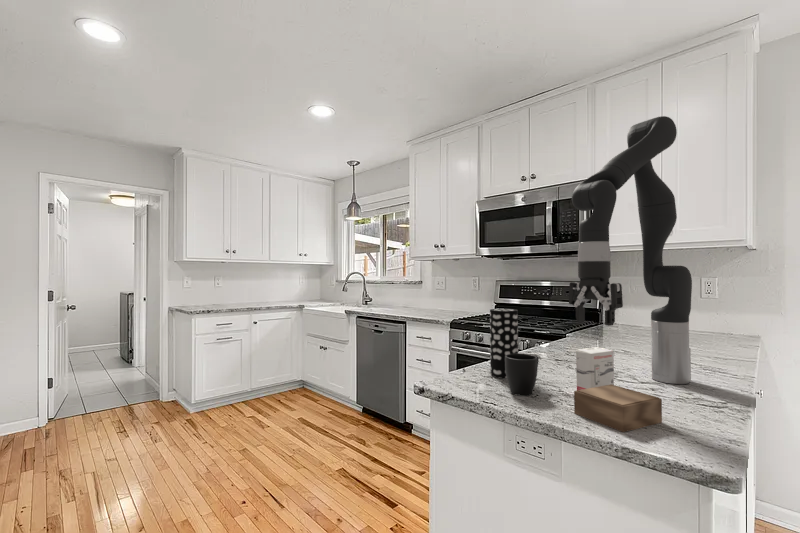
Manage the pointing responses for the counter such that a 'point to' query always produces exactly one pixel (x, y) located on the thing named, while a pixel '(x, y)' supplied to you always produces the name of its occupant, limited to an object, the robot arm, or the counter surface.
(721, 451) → the counter surface
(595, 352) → the ink box
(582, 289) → the robot arm
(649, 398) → the brown flat block
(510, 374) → the mug
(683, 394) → the counter surface
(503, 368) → the white-spotted black cylinder
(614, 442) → the counter surface
